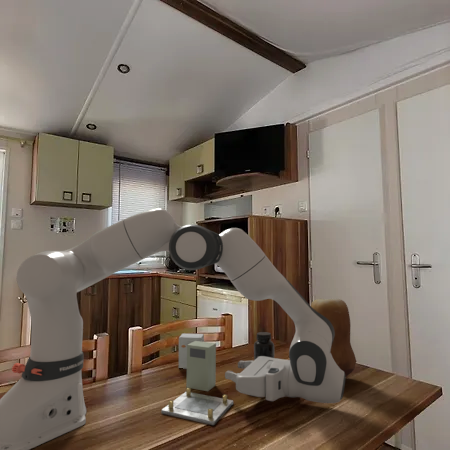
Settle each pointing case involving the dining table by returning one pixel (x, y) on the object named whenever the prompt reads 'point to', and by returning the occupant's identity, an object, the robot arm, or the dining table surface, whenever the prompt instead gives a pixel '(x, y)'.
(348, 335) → the butternut squash
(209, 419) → the plate
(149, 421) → the dining table surface
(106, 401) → the dining table surface
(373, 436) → the dining table surface
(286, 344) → the dining table surface
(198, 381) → the block
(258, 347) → the supplement bottle
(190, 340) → the small box
